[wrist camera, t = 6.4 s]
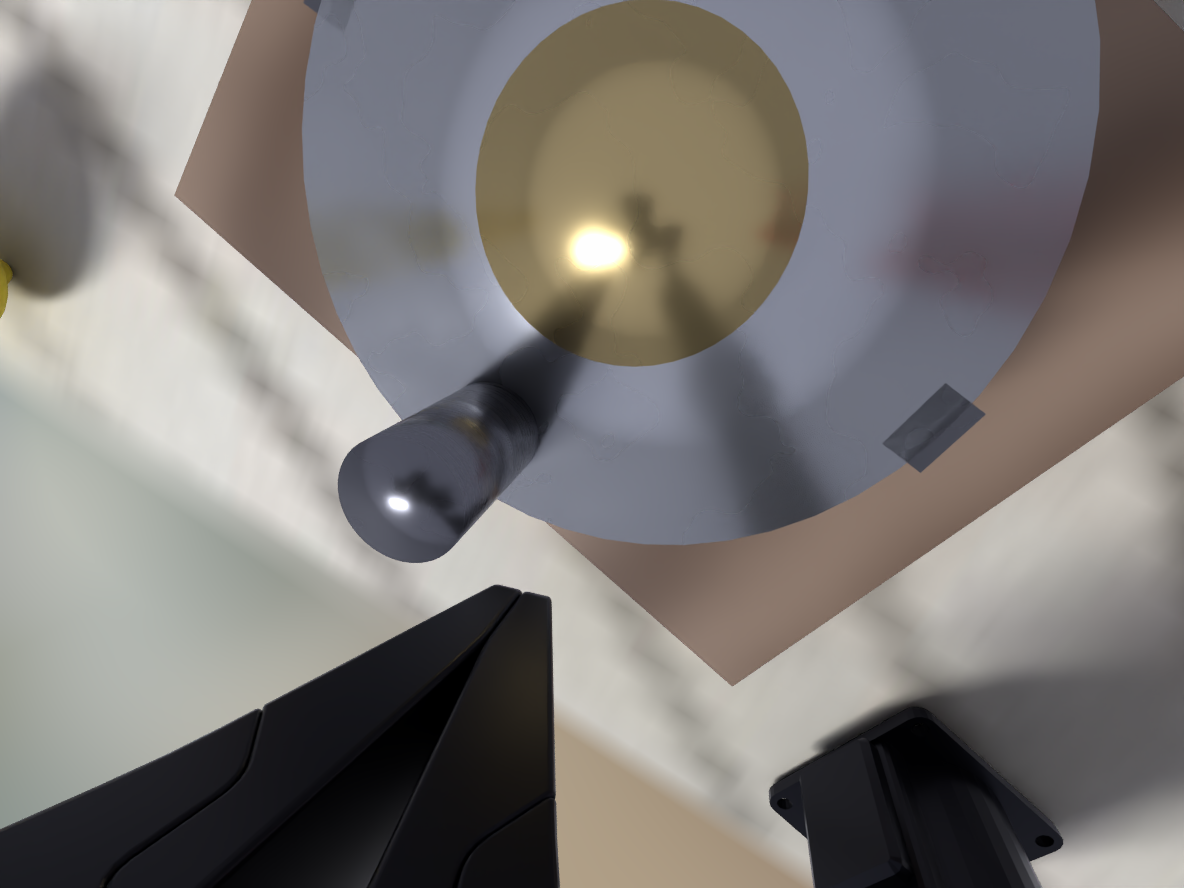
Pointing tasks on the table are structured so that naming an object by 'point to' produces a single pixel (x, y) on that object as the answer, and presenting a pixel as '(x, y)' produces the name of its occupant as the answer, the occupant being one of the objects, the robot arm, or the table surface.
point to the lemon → (4, 284)
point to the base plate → (906, 497)
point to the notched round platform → (682, 246)
